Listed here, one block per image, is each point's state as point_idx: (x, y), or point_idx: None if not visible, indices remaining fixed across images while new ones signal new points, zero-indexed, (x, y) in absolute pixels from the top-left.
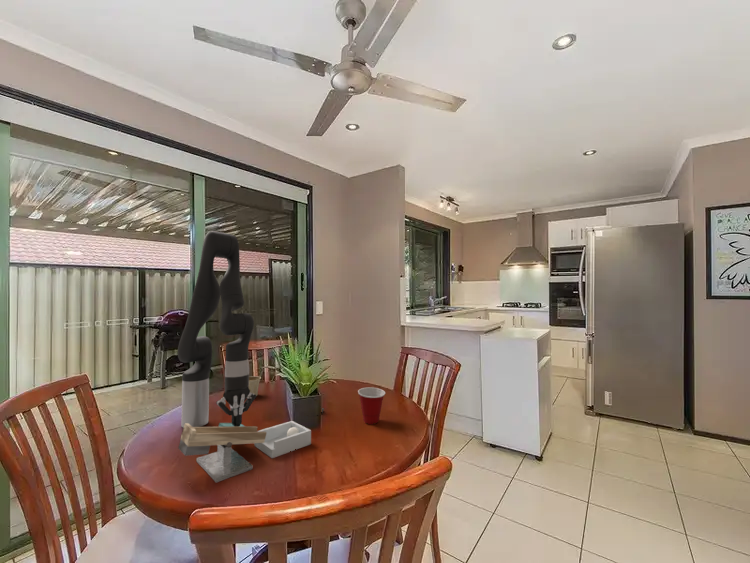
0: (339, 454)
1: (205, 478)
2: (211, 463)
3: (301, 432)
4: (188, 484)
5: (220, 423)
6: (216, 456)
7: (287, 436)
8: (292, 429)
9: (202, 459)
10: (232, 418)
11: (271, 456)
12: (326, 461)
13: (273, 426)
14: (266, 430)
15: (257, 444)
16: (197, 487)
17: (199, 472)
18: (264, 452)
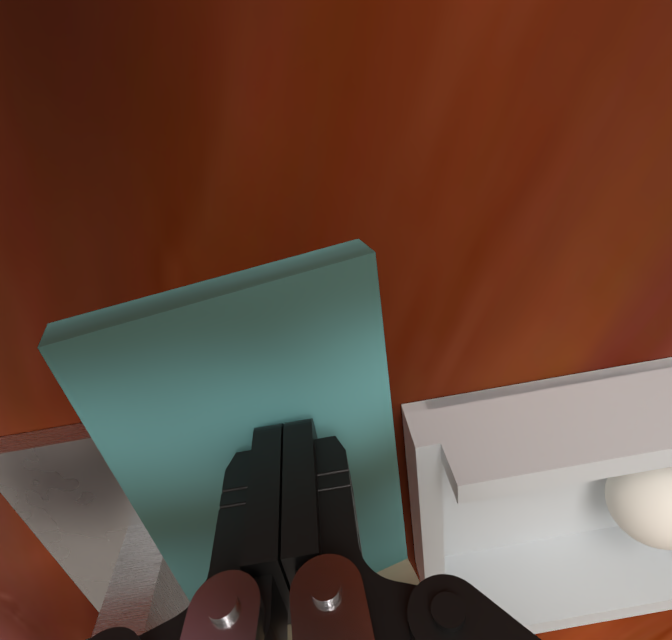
0: (646, 618)
1: (82, 595)
2: (95, 546)
3: (658, 605)
4: (6, 608)
5: (62, 379)
6: (121, 490)
7: (609, 494)
8: (667, 547)
9: (25, 492)
10: (224, 551)
11: (417, 564)
12: (569, 637)
13: (617, 460)
14: (527, 484)
15: (409, 459)
16: (55, 632)
17: (40, 548)
18: (411, 509)
